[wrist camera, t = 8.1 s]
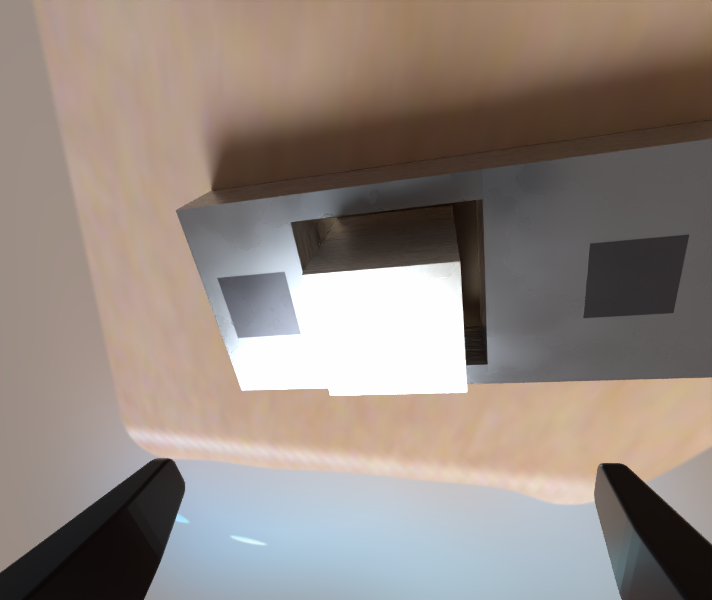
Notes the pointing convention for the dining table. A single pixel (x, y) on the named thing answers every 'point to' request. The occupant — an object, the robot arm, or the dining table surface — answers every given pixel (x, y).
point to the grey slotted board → (494, 258)
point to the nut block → (389, 304)
